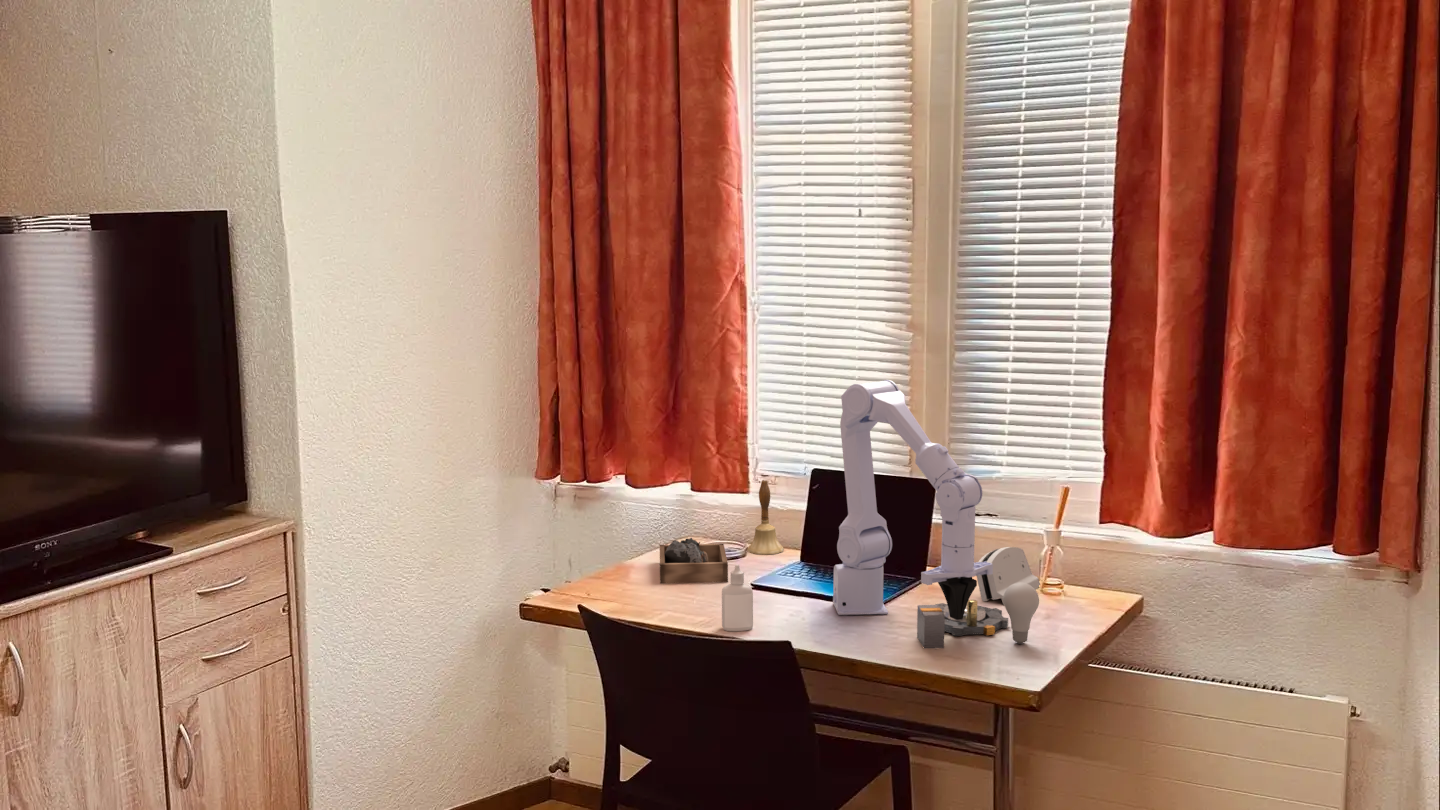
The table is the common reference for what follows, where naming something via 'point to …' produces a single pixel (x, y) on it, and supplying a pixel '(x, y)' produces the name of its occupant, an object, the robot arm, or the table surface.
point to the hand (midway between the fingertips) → (956, 617)
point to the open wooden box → (696, 567)
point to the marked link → (930, 626)
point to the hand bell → (765, 528)
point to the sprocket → (985, 627)
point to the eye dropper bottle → (737, 603)
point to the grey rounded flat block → (1005, 572)
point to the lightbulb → (1020, 608)
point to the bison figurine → (685, 552)
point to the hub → (979, 615)
